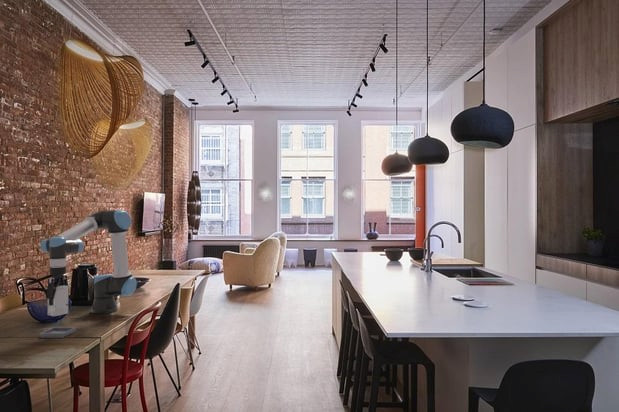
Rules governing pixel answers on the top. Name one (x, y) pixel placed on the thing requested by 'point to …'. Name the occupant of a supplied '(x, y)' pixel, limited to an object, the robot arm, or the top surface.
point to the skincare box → (60, 301)
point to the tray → (57, 332)
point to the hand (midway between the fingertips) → (58, 309)
